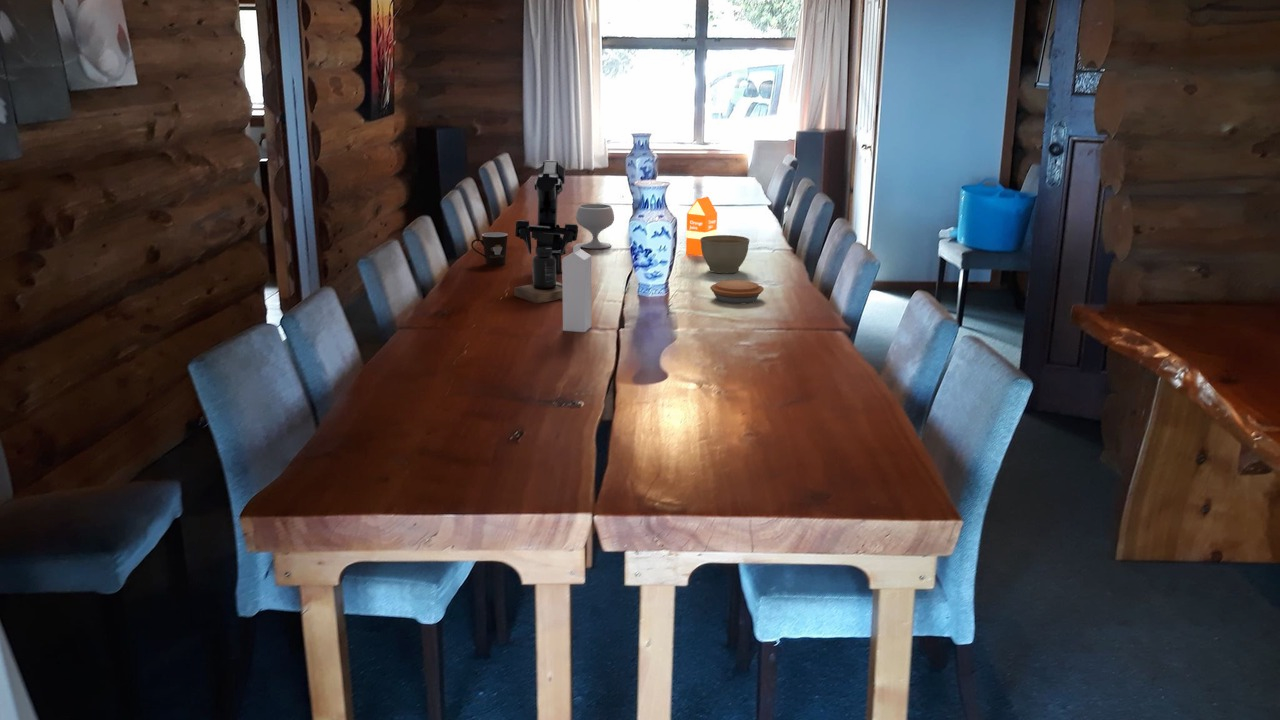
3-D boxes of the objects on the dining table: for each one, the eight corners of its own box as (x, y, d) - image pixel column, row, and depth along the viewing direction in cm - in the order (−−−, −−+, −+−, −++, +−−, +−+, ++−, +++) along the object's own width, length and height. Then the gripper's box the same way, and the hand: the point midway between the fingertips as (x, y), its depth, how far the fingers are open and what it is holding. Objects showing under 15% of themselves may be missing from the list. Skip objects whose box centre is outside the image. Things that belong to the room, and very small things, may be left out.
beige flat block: (553, 289, 309) (553, 280, 308) (576, 296, 300) (576, 287, 299) (514, 295, 301) (513, 286, 300) (536, 303, 292) (536, 293, 291)
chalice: (592, 241, 388) (592, 202, 384) (621, 246, 381) (621, 205, 376) (568, 247, 377) (568, 206, 373) (598, 251, 370) (598, 210, 365)
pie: (699, 299, 299) (699, 282, 298) (731, 291, 310) (732, 275, 309) (741, 308, 289) (741, 291, 288) (773, 299, 300) (774, 283, 298)
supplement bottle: (556, 285, 303) (556, 245, 300) (555, 290, 297) (555, 249, 293) (533, 285, 303) (532, 245, 300) (532, 290, 296) (531, 249, 293)
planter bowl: (748, 267, 345) (749, 235, 342) (748, 277, 330) (749, 243, 327) (700, 265, 347) (701, 233, 344) (698, 275, 331) (699, 242, 328)
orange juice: (716, 252, 370) (718, 197, 364) (704, 256, 363) (706, 200, 357) (697, 250, 374) (698, 195, 368) (685, 254, 367) (686, 198, 361)
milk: (562, 331, 263) (561, 246, 257) (570, 325, 269) (568, 242, 262) (585, 332, 262) (584, 247, 255) (592, 326, 267) (591, 243, 261)
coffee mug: (510, 261, 349) (510, 232, 346) (505, 266, 341) (504, 237, 338) (477, 260, 350) (476, 231, 347) (471, 265, 342) (470, 236, 339)
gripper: (575, 227, 321) (574, 270, 314) (515, 222, 318) (513, 266, 312) (578, 207, 311) (577, 251, 304) (516, 202, 308) (514, 246, 302)
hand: (545, 254), depth 306 cm, fingers open, 9 cm apart
